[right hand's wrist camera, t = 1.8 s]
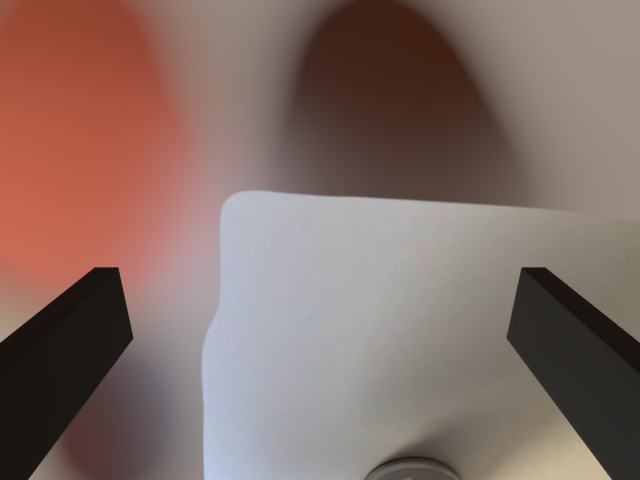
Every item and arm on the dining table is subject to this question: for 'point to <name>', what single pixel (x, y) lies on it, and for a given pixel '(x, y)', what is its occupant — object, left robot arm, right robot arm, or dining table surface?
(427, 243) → the dining table surface
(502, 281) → the dining table surface
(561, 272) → the dining table surface
